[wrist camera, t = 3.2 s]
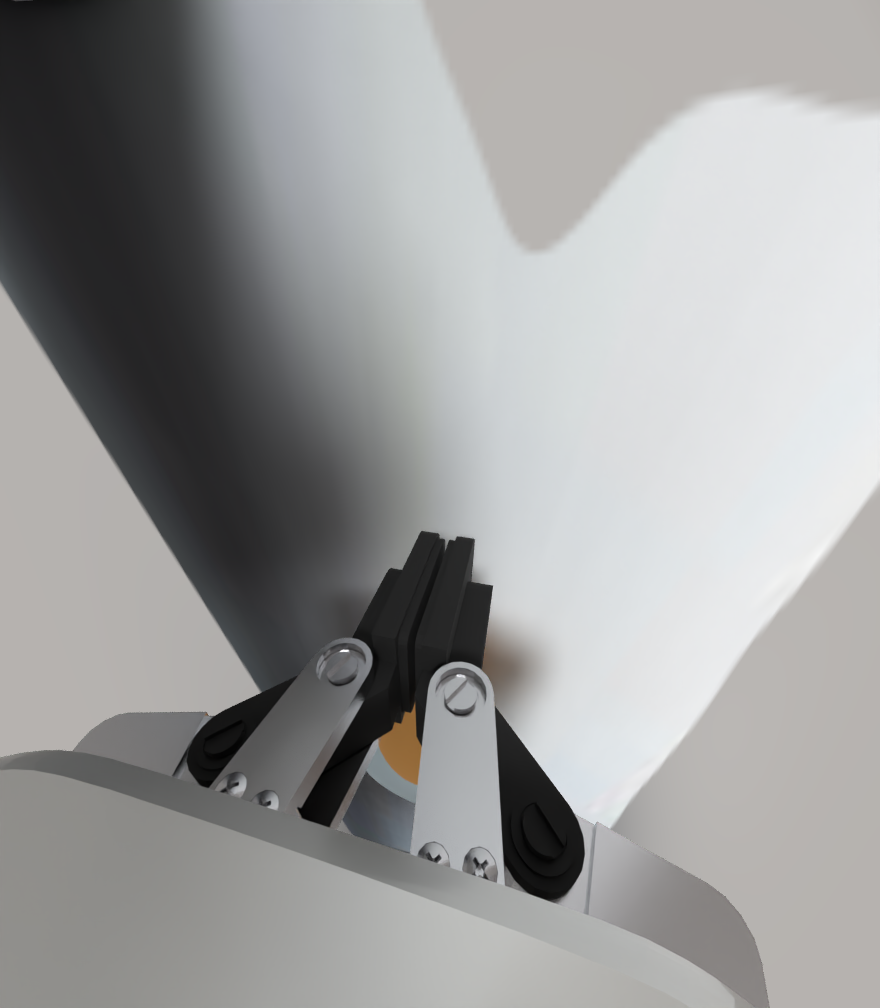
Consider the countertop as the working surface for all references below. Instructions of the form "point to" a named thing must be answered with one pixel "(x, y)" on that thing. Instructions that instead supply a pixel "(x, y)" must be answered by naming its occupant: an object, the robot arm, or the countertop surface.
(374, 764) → the disc
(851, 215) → the countertop surface
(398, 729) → the ball
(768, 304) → the countertop surface
